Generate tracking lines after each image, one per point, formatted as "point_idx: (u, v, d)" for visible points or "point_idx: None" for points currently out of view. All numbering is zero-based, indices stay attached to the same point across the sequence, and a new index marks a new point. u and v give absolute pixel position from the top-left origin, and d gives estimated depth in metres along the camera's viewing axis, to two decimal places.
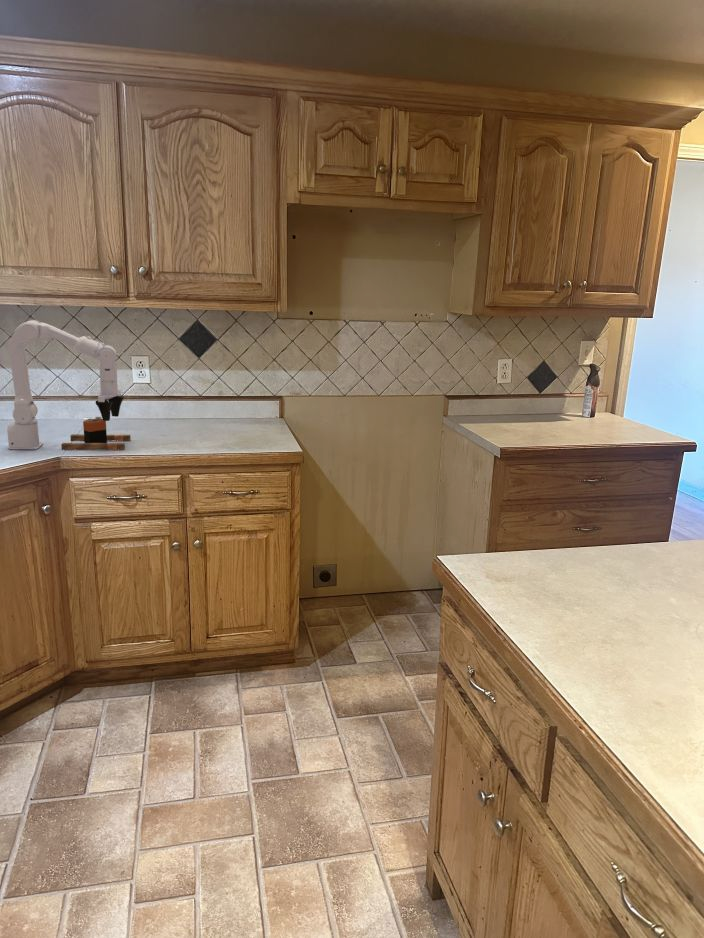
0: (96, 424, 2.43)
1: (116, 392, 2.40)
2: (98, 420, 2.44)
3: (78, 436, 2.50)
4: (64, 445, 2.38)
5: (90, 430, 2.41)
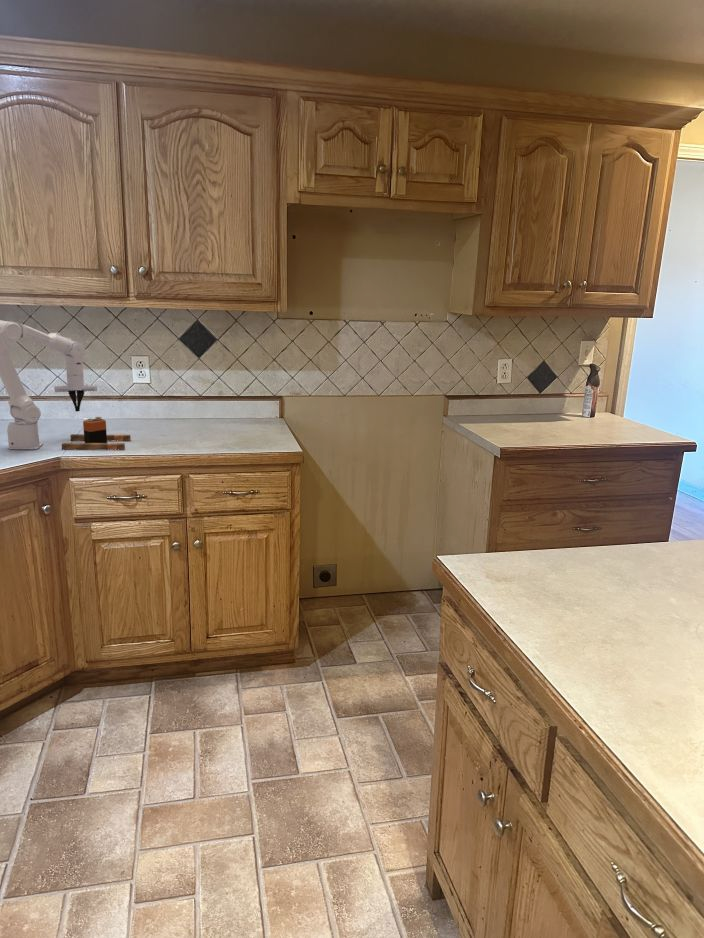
0: (96, 424, 2.43)
1: (74, 386, 2.47)
2: (98, 420, 2.44)
3: (78, 436, 2.50)
4: (64, 445, 2.38)
5: (90, 430, 2.41)
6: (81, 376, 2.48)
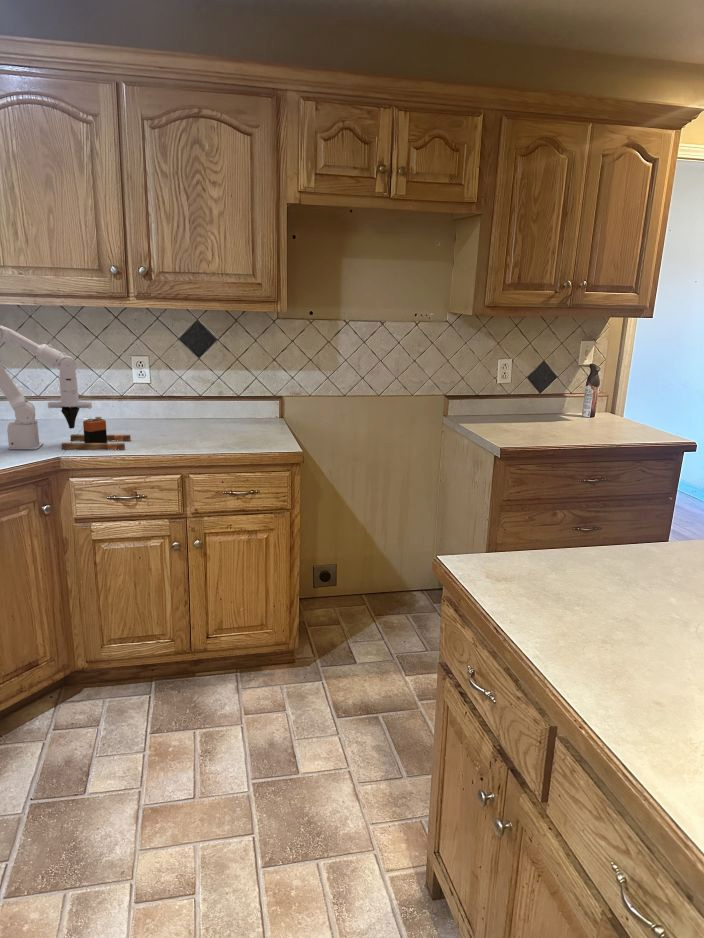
0: (96, 424, 2.43)
1: (66, 402, 2.38)
2: (98, 420, 2.44)
3: (78, 436, 2.50)
4: (64, 445, 2.38)
5: (90, 430, 2.41)
6: (74, 392, 2.39)
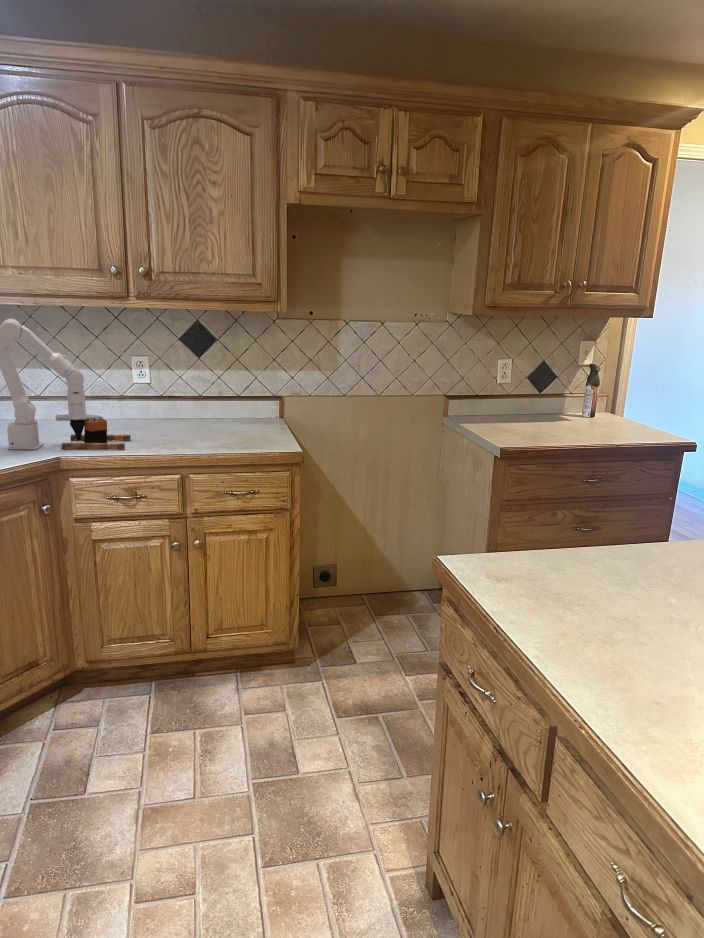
0: (97, 424, 2.43)
1: (74, 415, 2.40)
2: (99, 420, 2.44)
3: None
4: (64, 445, 2.38)
5: (90, 430, 2.41)
6: (81, 405, 2.40)
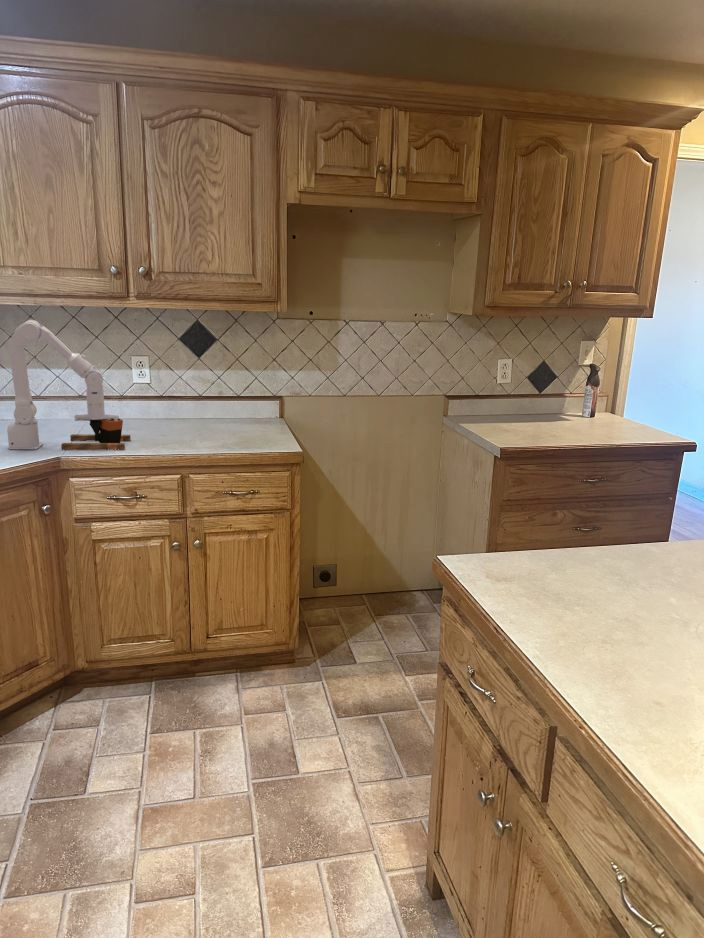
0: (115, 423, 2.44)
1: (93, 415, 2.41)
2: None
3: (78, 436, 2.50)
4: (64, 445, 2.38)
5: (109, 429, 2.43)
6: (100, 406, 2.41)
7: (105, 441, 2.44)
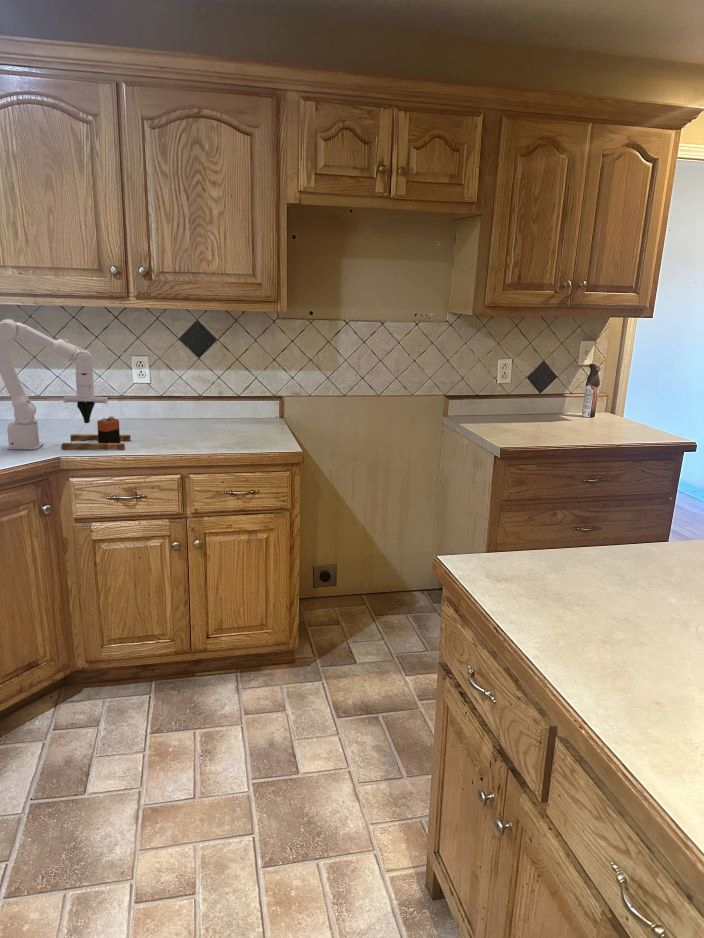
0: (111, 424, 2.44)
1: (82, 397, 2.39)
2: (112, 420, 2.45)
3: (78, 436, 2.50)
4: (64, 445, 2.38)
5: (106, 430, 2.43)
6: (90, 387, 2.39)
7: None
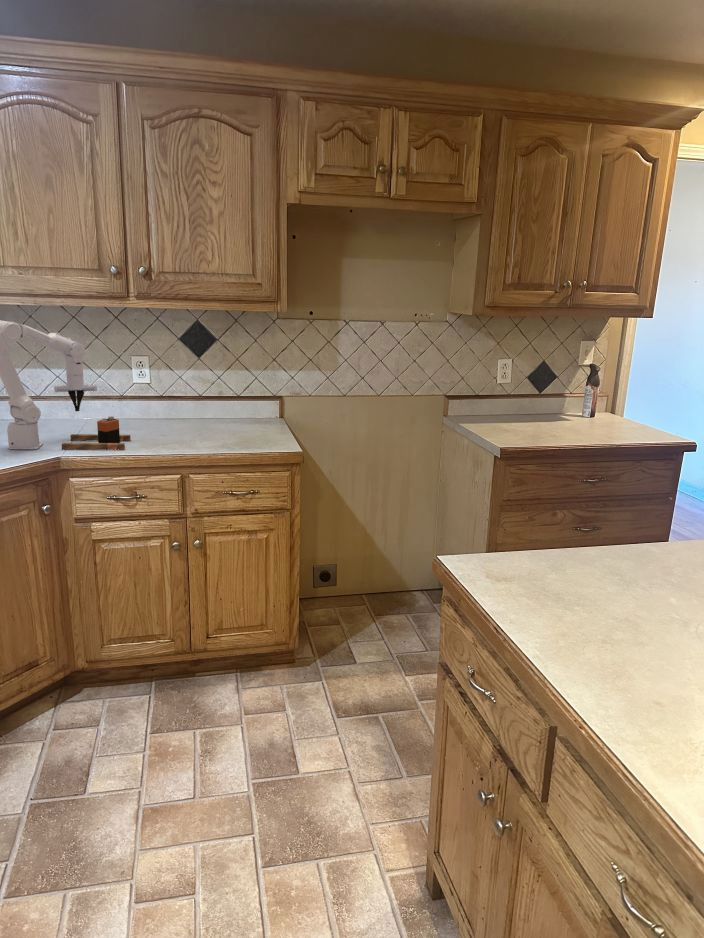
0: (111, 424, 2.44)
1: (74, 386, 2.47)
2: (112, 420, 2.46)
3: (78, 436, 2.50)
4: (64, 445, 2.38)
5: (106, 430, 2.43)
6: (81, 376, 2.48)
7: None
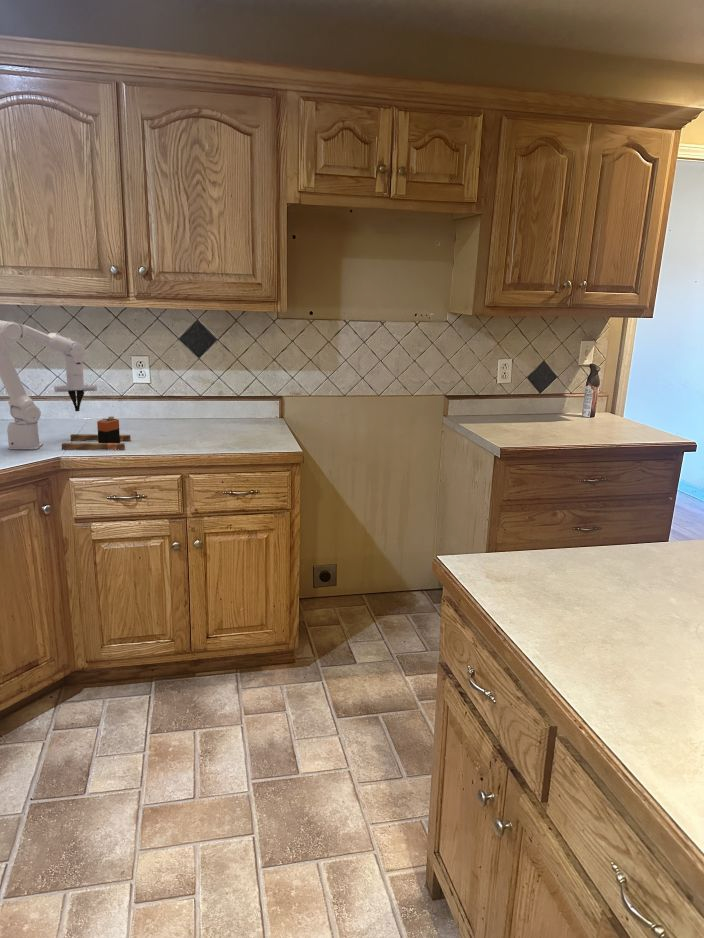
0: (111, 424, 2.44)
1: (74, 386, 2.47)
2: (112, 420, 2.46)
3: (78, 436, 2.50)
4: (64, 445, 2.38)
5: (106, 430, 2.43)
6: (81, 376, 2.48)
7: None
